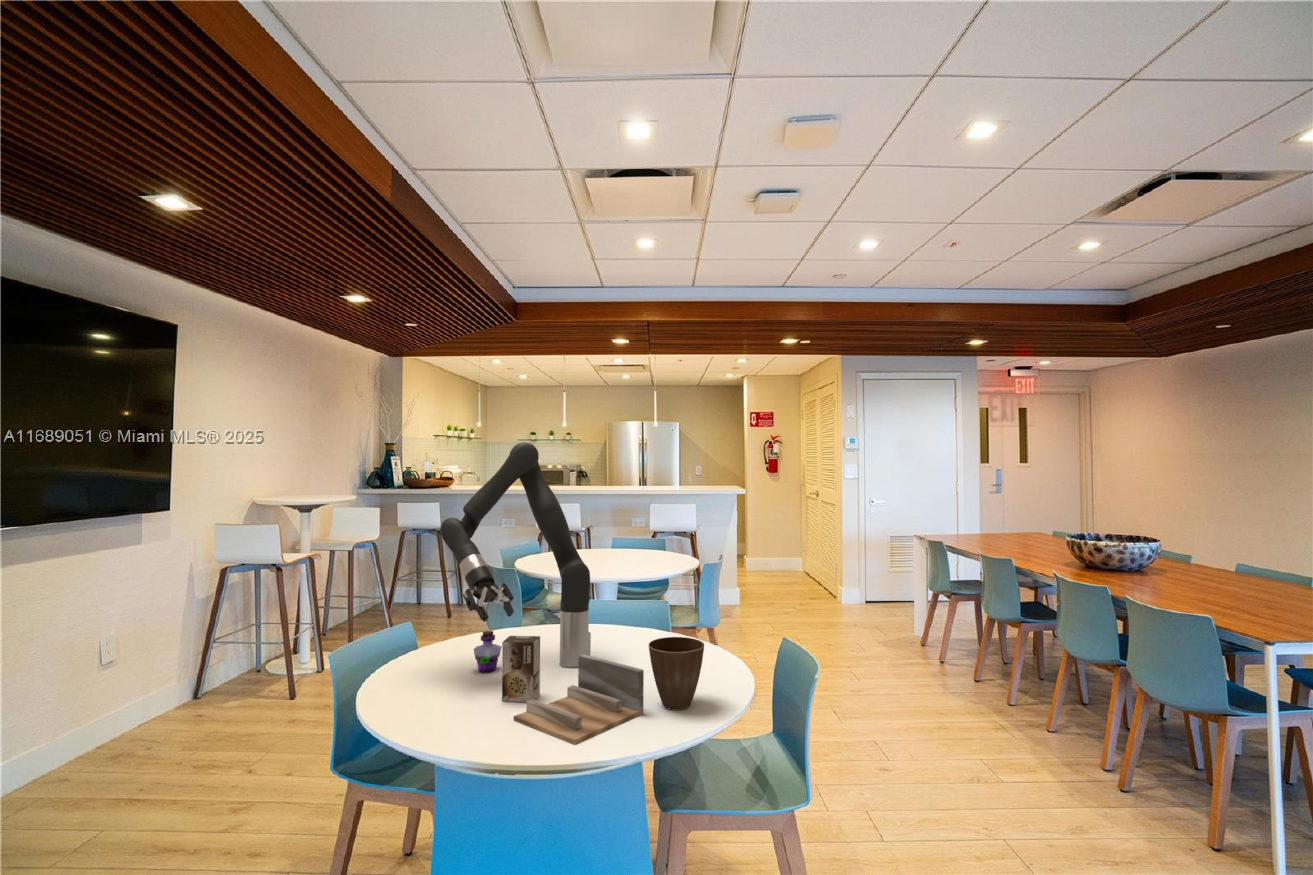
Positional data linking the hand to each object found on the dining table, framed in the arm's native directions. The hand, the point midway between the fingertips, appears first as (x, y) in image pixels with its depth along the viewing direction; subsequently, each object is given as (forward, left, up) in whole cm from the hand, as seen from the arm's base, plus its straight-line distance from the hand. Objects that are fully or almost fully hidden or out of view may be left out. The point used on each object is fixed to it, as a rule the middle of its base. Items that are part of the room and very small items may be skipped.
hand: (499, 617), depth 176 cm
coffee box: (0, +10, -21) cm, 23 cm away
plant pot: (-23, +46, -21) cm, 56 cm away
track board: (-1, +32, -20) cm, 38 cm away
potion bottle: (-9, -18, -21) cm, 28 cm away
